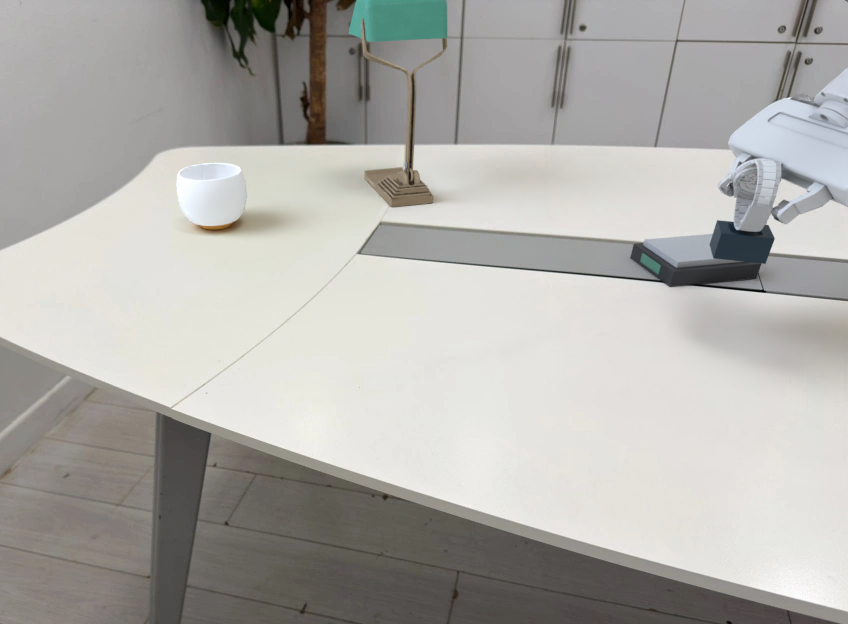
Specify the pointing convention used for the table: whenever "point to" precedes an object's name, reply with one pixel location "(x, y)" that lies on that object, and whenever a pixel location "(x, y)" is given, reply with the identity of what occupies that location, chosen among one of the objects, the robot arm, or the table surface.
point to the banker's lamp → (407, 20)
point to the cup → (212, 194)
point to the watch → (749, 213)
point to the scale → (689, 261)
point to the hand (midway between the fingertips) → (749, 204)
